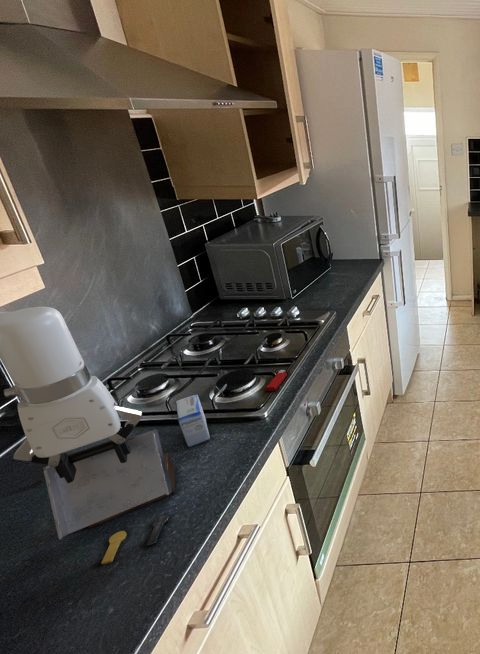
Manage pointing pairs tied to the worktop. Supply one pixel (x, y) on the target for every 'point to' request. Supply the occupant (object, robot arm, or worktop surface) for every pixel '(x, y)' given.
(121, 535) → the brass key
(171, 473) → the stand
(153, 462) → the steel dish
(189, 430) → the medicine box
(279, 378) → the lighter
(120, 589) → the worktop surface
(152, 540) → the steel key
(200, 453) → the worktop surface
